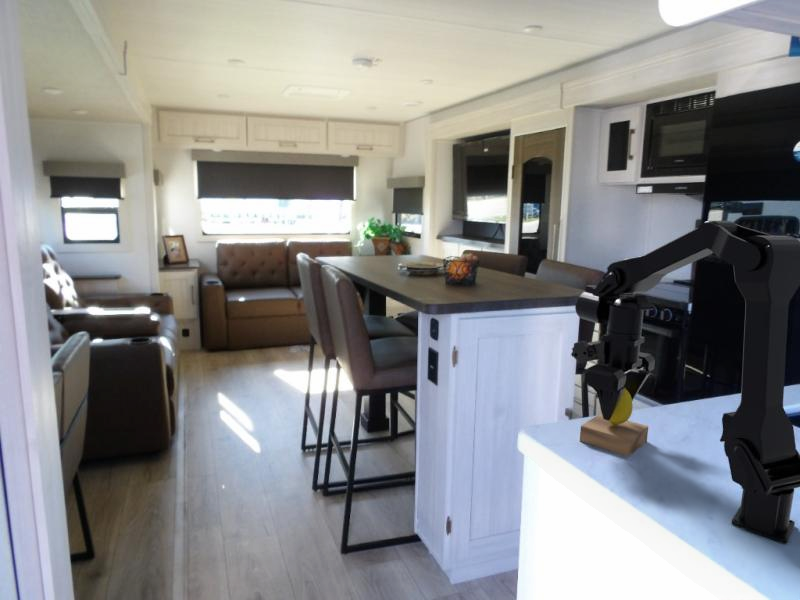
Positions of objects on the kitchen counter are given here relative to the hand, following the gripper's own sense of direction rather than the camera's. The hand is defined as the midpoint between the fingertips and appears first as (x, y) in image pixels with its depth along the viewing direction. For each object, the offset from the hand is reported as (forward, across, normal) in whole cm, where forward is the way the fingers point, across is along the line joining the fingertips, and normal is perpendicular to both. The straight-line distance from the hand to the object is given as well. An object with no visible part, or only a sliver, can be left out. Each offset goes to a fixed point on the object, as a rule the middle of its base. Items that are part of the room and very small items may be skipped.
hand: (616, 413), depth 102 cm
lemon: (+3, 0, 0) cm, 3 cm away
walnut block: (+6, 0, 0) cm, 6 cm away
